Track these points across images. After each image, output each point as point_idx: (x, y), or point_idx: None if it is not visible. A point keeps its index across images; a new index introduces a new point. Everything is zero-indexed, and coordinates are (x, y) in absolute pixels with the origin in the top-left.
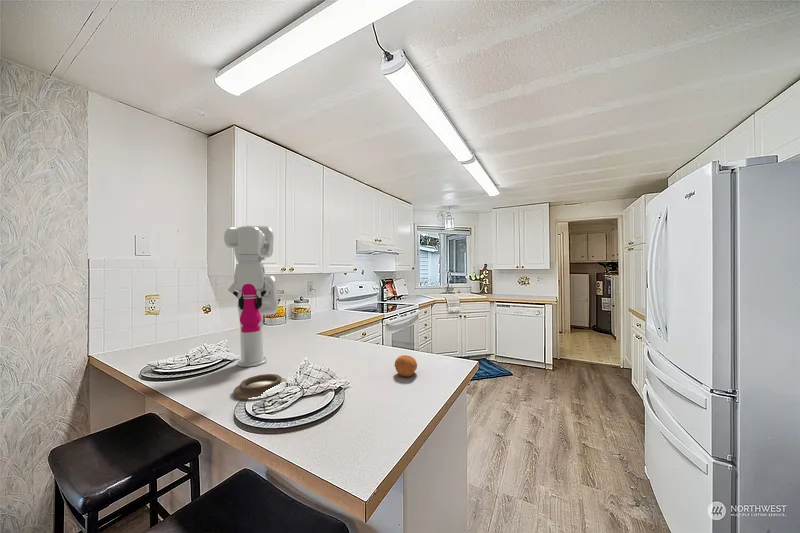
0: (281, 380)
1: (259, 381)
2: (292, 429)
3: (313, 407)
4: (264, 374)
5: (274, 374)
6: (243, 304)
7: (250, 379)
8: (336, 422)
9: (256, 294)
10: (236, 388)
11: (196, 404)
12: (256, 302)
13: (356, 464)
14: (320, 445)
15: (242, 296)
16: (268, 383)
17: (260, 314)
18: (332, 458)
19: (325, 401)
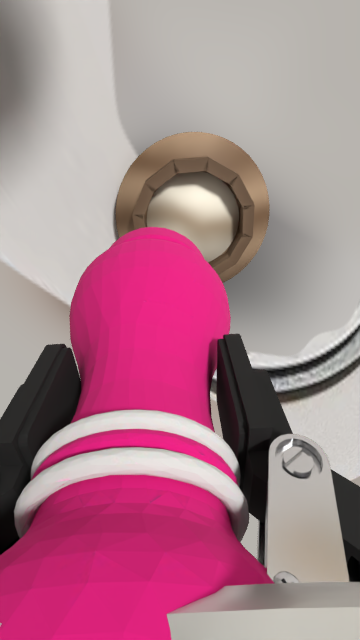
0: (249, 182)
1: (177, 181)
2: (283, 398)
3: (323, 341)
4: (189, 160)
5: (227, 170)
6: (65, 410)
7: (151, 196)
8: (350, 391)
9: (236, 535)
10: (121, 225)
11: (57, 284)
12: (210, 407)
13: (348, 458)
14: (317, 431)
15: (9, 505)
16: (211, 208)
17: (228, 322)
18: (326, 449)
19: (351, 321)
